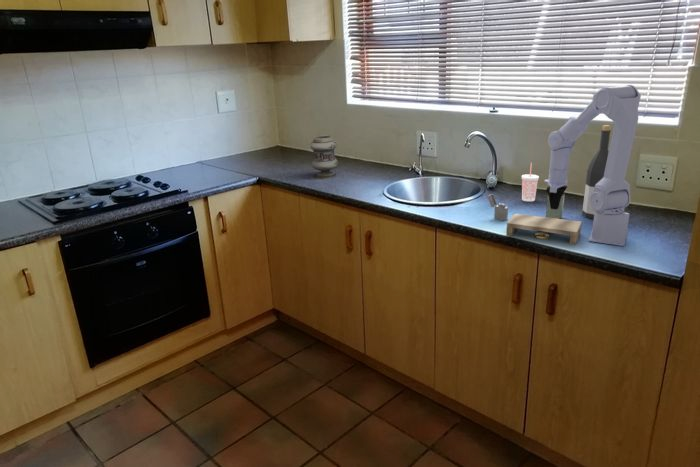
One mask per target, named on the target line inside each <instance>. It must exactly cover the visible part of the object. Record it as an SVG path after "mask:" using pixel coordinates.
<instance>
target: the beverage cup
mask: <svg viewBox="0 0 700 467" xmlns="http://www.w3.org/2000/svg"><path fill="white" fill-rule="evenodd" d="M532 169H533V162H530V167H529V174H527V173H525V174H522V175H521V200H522V201H524V202H530V203H531V202H534V201H536V194H537V189H538V188H537V187H538V181H539V179H540V176H539V175H537V174H533V173H532Z"/></svg>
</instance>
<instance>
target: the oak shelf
mask: <svg viewBox="0 0 700 467" xmlns="http://www.w3.org/2000/svg"><path fill="white" fill-rule="evenodd" d="M517 229H522V230H529V231H530V230H531V231H536V232H543V233H552V234H560V235H566V236H567V235H568V236H570V237H569V245H575V246H576V244H577V242H578V240H579V238H580V235H581V232H582V231H581V229H582V221H579V220H574V219H573V220H572V219H571V220H570V219H564V218H563V219H562V218H561V219H556V218H548V217H546V216H540V215H530V214H522V213H521V214H520V213H514V214H513V215H512V216H511V218H510V219H509V220H508V221H507V222H506V231H505V232H506V234H505V235H506V236H508V237H511V236H513V234H514V233H515V232H516V231H517Z"/></svg>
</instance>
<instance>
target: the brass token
mask: <svg viewBox="0 0 700 467" xmlns="http://www.w3.org/2000/svg"><path fill="white" fill-rule="evenodd" d="M534 237H535V238H536V239H538V238H539V239H538V240H547V239H550V238H549V237H550V235H549V233H548V232H543V231H537V232H535V233H534Z"/></svg>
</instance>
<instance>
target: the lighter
mask: <svg viewBox="0 0 700 467" xmlns="http://www.w3.org/2000/svg"><path fill="white" fill-rule="evenodd" d="M486 197H487V199H488V202H489V204H490V207H491V208H492V207H493V208H494V214H493V215H494V216H493V218H494V219H496V220H499V221H507V220H508V217H509V207H508V206H506V204H505V203H503V202H502V203H501V202H499V203H498V202H497V201H496V197H495V195H494V193H490V194H488V195H487V196H486ZM497 203H498V204H497Z"/></svg>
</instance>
